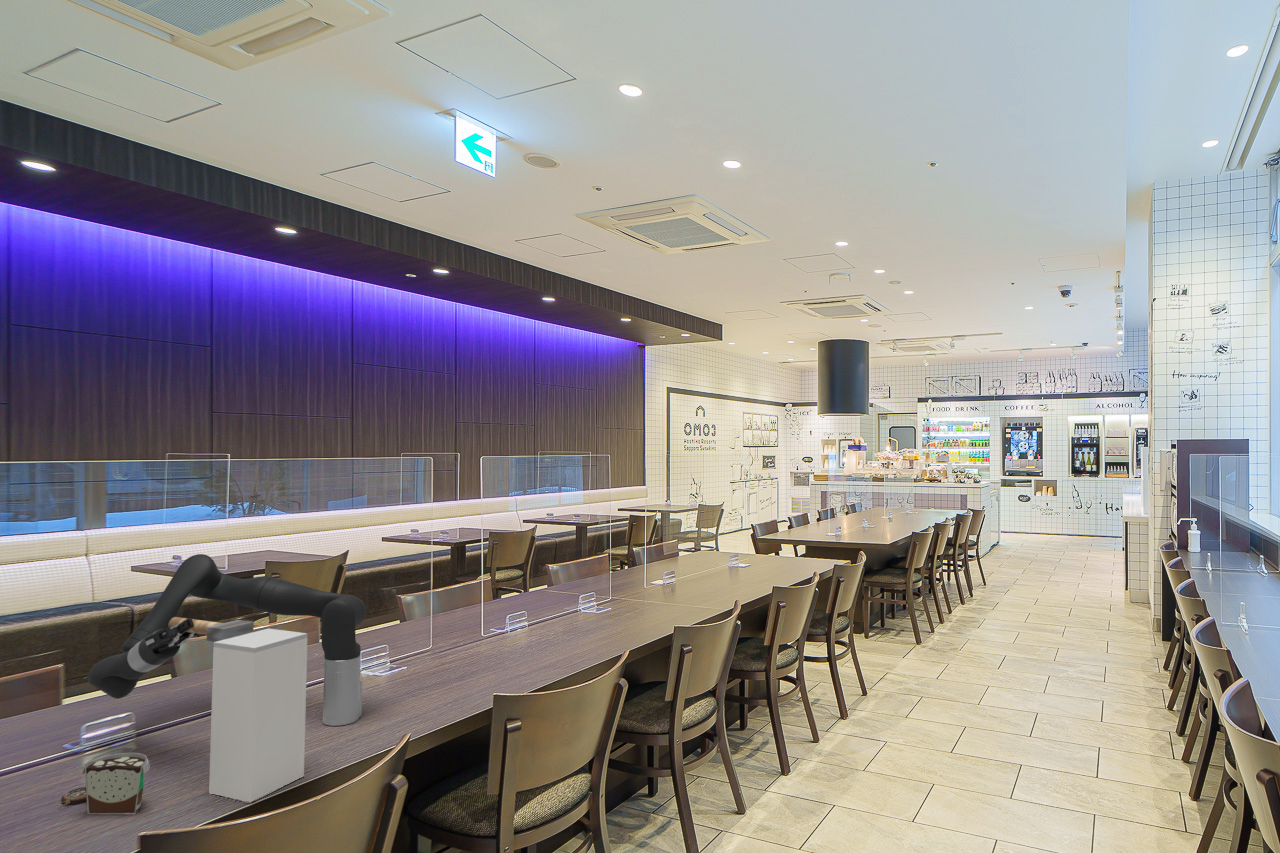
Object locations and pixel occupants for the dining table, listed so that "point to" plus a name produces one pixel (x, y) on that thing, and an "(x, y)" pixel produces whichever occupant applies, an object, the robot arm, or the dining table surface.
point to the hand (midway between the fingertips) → (198, 620)
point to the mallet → (217, 628)
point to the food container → (115, 783)
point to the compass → (74, 796)
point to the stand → (258, 713)
